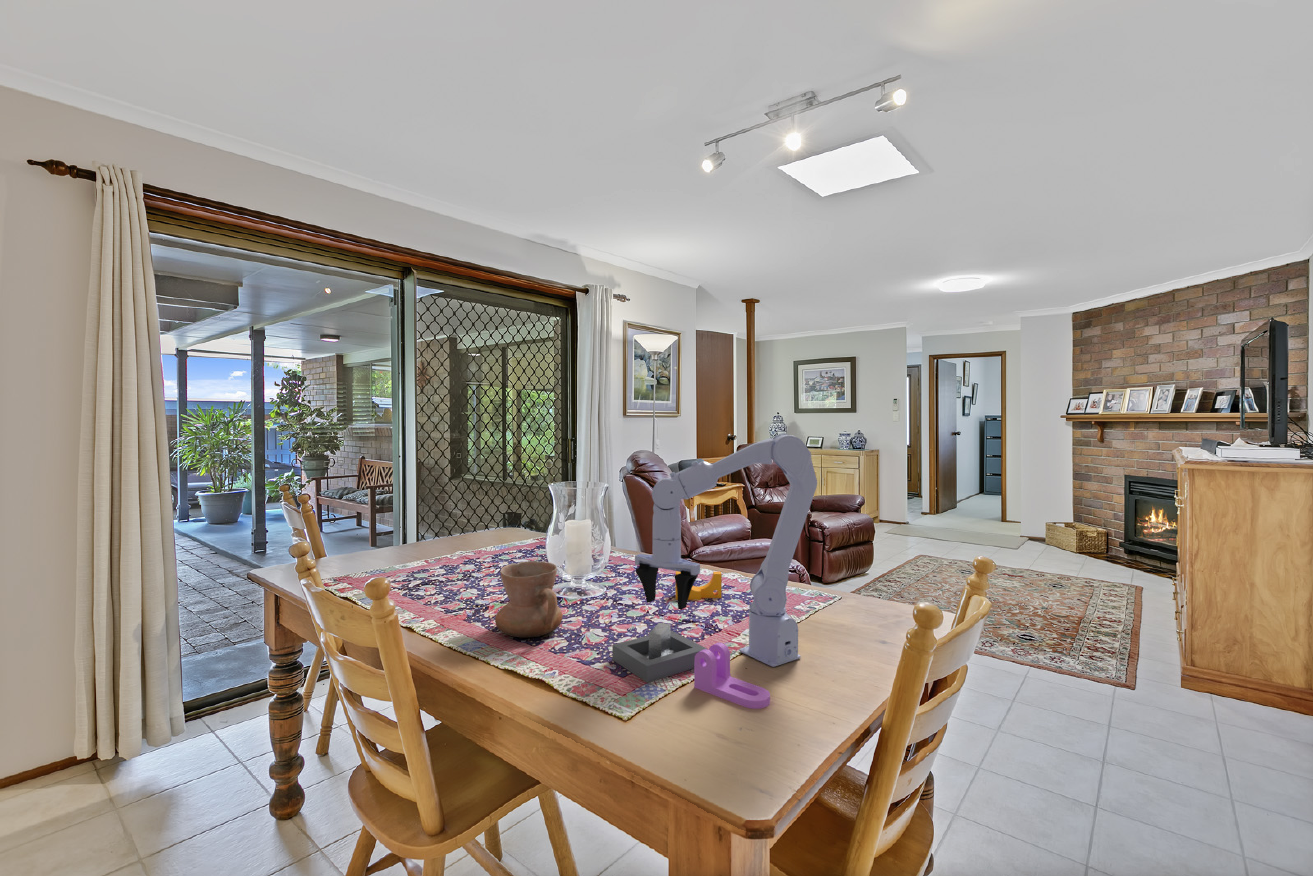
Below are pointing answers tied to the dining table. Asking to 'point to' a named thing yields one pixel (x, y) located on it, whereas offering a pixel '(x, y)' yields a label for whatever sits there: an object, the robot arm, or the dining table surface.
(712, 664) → the bracket
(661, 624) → the grey block
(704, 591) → the pipe clamp
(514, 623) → the ceramic jug
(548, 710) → the dining table surface
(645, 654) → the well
